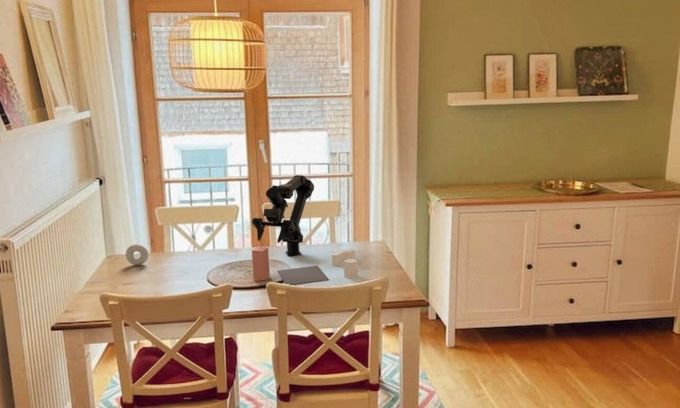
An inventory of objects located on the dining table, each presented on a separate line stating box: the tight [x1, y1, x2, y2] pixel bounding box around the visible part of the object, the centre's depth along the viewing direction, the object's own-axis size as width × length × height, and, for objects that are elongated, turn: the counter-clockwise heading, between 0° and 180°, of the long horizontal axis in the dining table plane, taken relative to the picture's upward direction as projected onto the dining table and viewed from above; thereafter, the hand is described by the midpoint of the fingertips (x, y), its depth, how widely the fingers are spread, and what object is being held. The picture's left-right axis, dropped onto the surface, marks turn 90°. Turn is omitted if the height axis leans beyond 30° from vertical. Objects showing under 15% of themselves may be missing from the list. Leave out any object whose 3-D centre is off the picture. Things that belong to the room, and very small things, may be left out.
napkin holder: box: [331, 248, 356, 267], centre depth 263 cm, size 15×11×6 cm
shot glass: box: [342, 257, 360, 280], centre depth 245 cm, size 7×7×7 cm
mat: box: [277, 265, 330, 286], centre depth 248 cm, size 18×18×1 cm
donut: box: [125, 243, 149, 266], centre depth 265 cm, size 10×4×10 cm, turn 95°
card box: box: [251, 246, 270, 281], centre depth 244 cm, size 5×5×13 cm
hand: (268, 241), depth 250 cm, fingers open, 9 cm apart
